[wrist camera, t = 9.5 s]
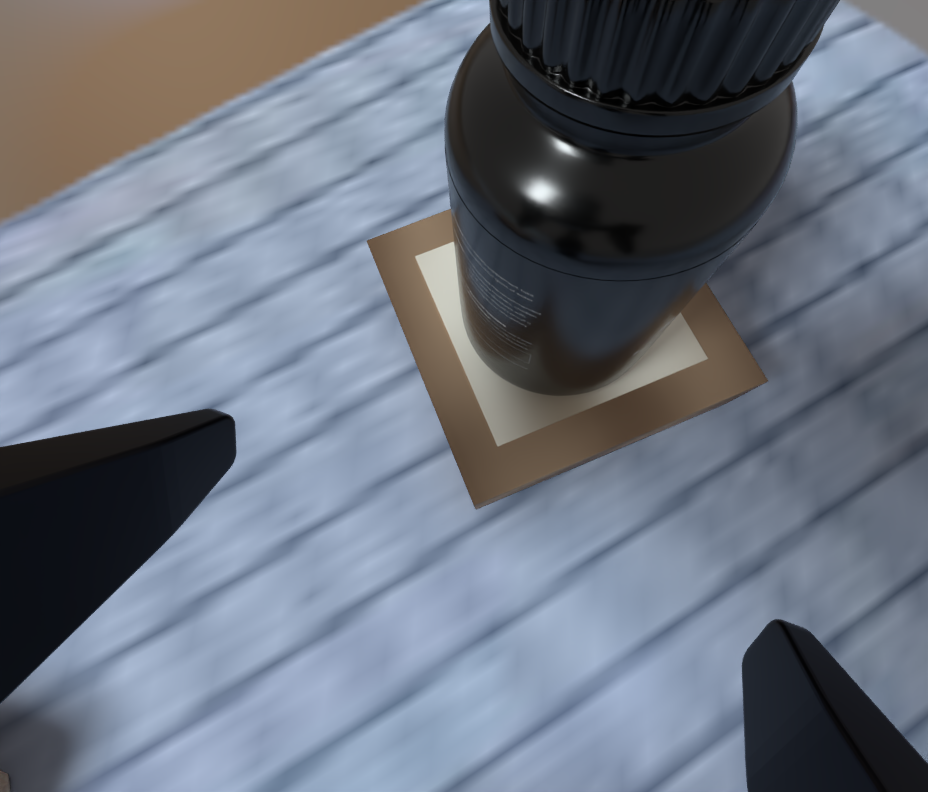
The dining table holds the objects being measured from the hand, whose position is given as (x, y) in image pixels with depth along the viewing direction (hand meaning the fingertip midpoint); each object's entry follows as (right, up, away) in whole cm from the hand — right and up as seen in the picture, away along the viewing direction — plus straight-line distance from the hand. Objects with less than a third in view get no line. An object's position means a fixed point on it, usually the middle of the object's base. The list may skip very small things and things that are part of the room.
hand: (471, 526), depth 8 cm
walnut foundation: (+3, +5, +13) cm, 14 cm away
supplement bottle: (+3, +5, +10) cm, 12 cm away
